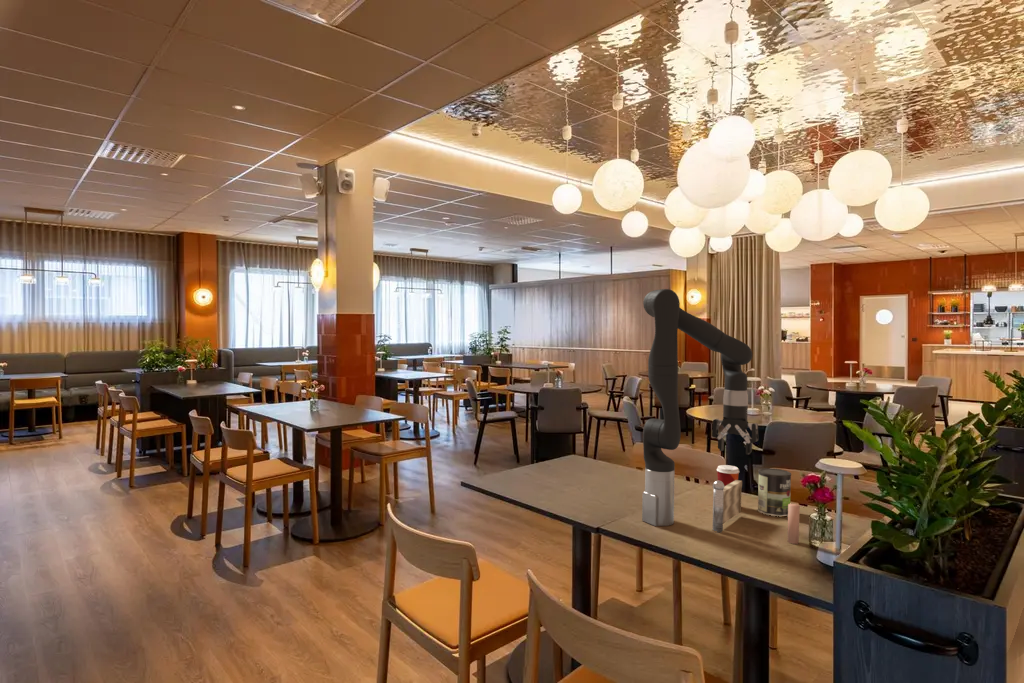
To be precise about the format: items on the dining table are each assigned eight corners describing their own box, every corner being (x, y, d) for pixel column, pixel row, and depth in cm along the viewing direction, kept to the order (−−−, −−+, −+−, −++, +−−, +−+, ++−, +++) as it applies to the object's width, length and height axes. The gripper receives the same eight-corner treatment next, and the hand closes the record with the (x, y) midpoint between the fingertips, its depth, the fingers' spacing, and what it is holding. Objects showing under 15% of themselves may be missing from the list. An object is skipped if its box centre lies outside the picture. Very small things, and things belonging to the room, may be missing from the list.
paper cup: (740, 510, 194) (741, 470, 194) (717, 509, 195) (718, 469, 195) (736, 503, 202) (737, 465, 201) (714, 502, 203) (714, 463, 203)
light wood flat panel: (723, 524, 175) (724, 491, 175) (717, 523, 176) (717, 490, 176) (741, 512, 188) (742, 480, 188) (735, 510, 189) (736, 479, 189)
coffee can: (796, 513, 191) (797, 472, 191) (780, 519, 185) (781, 477, 185) (767, 505, 200) (768, 466, 200) (751, 510, 194) (752, 470, 193)
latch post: (794, 544, 163) (795, 507, 163) (785, 541, 166) (786, 504, 165) (801, 542, 165) (801, 505, 164) (791, 539, 167) (792, 503, 167)
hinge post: (718, 533, 172) (719, 482, 171) (709, 529, 175) (710, 479, 174) (725, 531, 173) (726, 481, 173) (716, 528, 176) (717, 478, 176)
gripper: (761, 404, 183) (760, 454, 183) (718, 400, 192) (717, 447, 193) (754, 406, 177) (753, 457, 178) (709, 402, 187) (708, 451, 187)
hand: (734, 452), depth 185 cm, fingers open, 8 cm apart
